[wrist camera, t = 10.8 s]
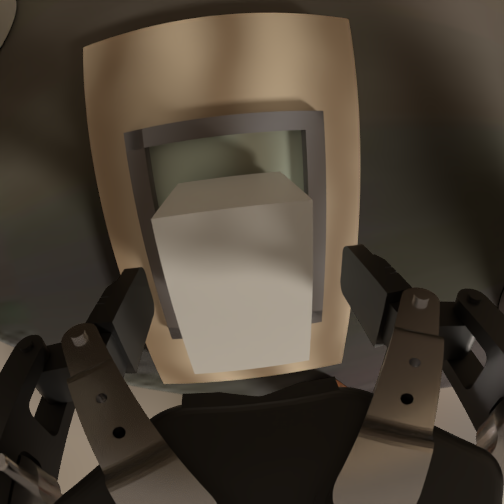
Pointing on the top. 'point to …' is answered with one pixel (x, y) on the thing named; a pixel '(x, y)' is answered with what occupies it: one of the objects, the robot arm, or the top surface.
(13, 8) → the travel mug
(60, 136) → the top surface
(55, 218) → the top surface
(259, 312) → the white block
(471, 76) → the top surface
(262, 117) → the loading dock
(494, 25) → the top surface
